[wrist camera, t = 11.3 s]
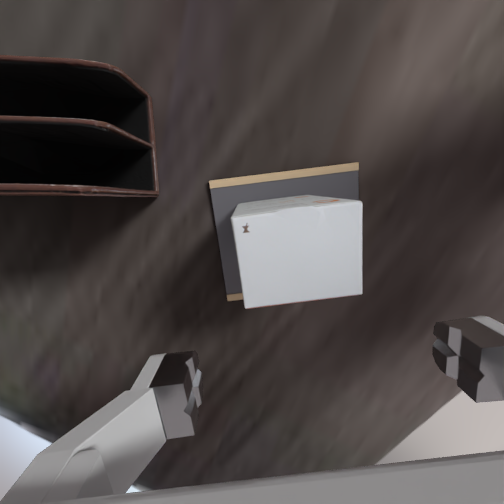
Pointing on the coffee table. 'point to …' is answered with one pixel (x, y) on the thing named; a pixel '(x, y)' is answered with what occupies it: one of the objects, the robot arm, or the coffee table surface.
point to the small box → (298, 249)
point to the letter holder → (74, 130)
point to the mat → (272, 187)
